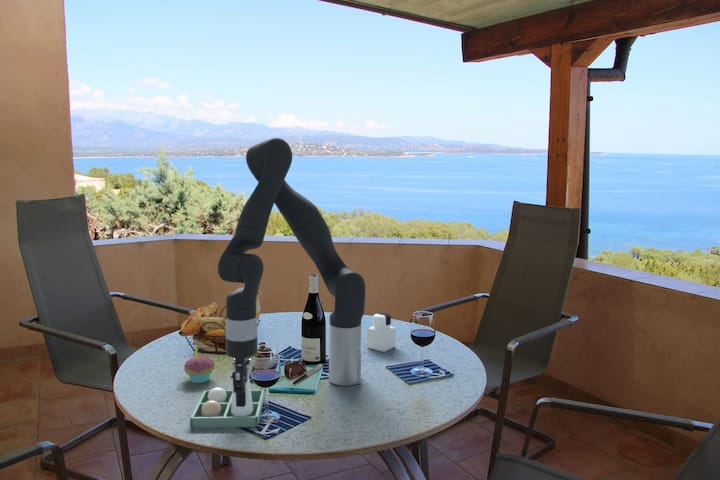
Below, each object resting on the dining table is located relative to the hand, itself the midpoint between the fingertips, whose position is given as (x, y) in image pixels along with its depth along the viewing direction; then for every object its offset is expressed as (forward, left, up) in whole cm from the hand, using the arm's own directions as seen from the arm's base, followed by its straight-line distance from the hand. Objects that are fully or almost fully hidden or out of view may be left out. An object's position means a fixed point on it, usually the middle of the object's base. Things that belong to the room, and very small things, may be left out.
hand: (242, 401), depth 134 cm
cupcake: (+16, -25, -5) cm, 30 cm away
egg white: (+7, -7, -4) cm, 11 cm away
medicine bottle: (-40, -53, -5) cm, 67 cm away
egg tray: (+4, -4, -5) cm, 7 cm away
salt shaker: (0, 0, -3) cm, 3 cm away
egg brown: (+7, 0, -5) cm, 9 cm away
